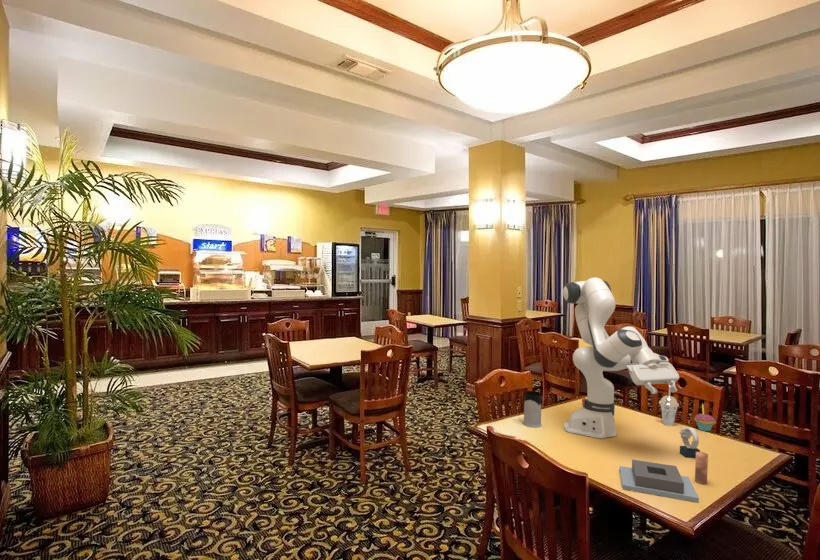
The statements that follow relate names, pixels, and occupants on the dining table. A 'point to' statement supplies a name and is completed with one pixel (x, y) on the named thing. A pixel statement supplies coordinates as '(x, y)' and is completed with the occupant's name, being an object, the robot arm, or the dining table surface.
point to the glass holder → (532, 409)
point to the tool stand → (657, 480)
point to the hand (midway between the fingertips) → (665, 392)
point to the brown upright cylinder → (701, 468)
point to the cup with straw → (668, 409)
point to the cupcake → (704, 421)
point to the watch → (688, 449)
